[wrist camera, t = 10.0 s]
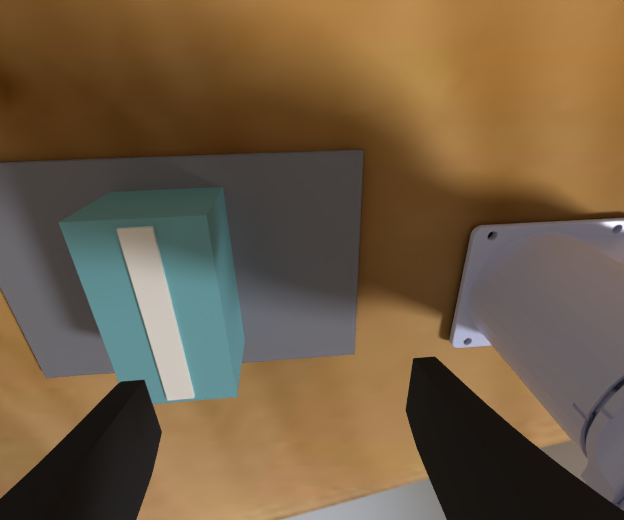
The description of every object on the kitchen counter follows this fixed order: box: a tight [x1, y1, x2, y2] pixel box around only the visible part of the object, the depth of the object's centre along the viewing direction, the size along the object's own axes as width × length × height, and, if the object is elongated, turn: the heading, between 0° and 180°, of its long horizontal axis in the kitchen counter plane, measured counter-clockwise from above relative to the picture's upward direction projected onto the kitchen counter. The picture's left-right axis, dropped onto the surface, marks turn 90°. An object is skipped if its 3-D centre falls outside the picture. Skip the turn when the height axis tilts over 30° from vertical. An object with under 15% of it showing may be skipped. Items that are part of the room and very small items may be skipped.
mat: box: [0, 149, 364, 378], centre depth 18 cm, size 18×12×1 cm, turn 91°
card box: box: [59, 187, 245, 404], centre depth 16 cm, size 9×5×4 cm, turn 1°
